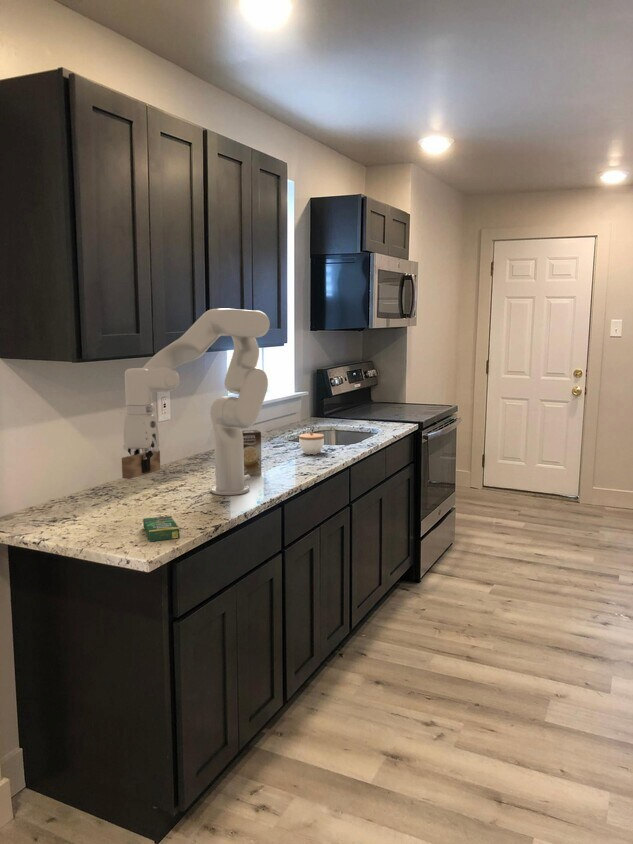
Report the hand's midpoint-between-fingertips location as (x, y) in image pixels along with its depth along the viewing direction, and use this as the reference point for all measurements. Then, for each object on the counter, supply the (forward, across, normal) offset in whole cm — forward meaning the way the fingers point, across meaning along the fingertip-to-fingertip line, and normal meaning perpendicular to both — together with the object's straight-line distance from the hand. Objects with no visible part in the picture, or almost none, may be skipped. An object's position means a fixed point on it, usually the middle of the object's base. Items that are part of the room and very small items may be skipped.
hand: (141, 471), depth 202 cm
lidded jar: (+11, -7, -99) cm, 100 cm away
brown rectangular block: (+1, 0, 0) cm, 1 cm away
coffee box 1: (+11, -14, +11) cm, 21 cm away
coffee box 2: (+12, -3, -54) cm, 56 cm away
